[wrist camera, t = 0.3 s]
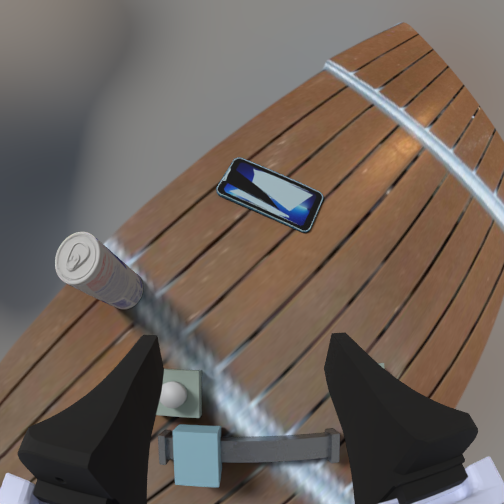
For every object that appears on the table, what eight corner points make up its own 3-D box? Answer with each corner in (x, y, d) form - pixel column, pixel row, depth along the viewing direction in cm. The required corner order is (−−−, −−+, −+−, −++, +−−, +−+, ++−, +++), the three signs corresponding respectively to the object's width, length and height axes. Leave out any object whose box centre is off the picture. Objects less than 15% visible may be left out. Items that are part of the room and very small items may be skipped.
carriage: (222, 471, 34) (218, 487, 29) (184, 468, 34) (175, 484, 29) (221, 423, 37) (217, 433, 31) (182, 421, 37) (172, 430, 31)
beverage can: (144, 269, 43) (102, 228, 29) (144, 309, 42) (98, 283, 27) (108, 271, 43) (57, 232, 29) (107, 310, 41) (51, 285, 27)
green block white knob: (201, 414, 37) (196, 421, 33) (157, 411, 37) (147, 417, 33) (201, 370, 39) (196, 371, 35) (156, 368, 39) (146, 368, 35)
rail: (331, 454, 36) (339, 462, 32) (166, 456, 35) (159, 464, 32) (332, 428, 37) (339, 433, 34) (164, 429, 36) (158, 435, 33)
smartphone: (307, 234, 45) (213, 191, 47) (306, 236, 46) (214, 195, 48) (325, 194, 48) (236, 155, 49) (323, 196, 48) (236, 158, 50)
